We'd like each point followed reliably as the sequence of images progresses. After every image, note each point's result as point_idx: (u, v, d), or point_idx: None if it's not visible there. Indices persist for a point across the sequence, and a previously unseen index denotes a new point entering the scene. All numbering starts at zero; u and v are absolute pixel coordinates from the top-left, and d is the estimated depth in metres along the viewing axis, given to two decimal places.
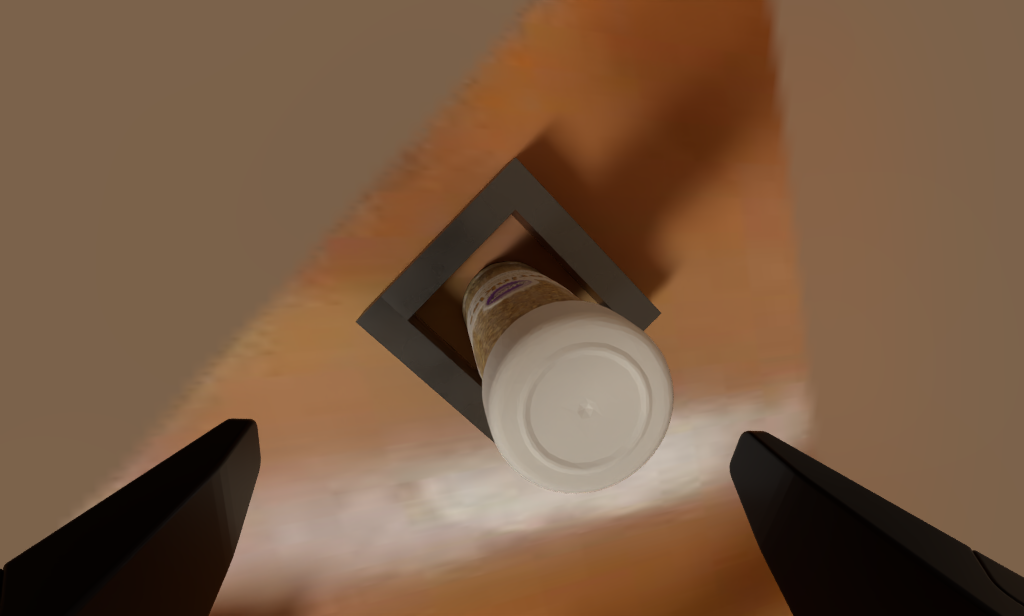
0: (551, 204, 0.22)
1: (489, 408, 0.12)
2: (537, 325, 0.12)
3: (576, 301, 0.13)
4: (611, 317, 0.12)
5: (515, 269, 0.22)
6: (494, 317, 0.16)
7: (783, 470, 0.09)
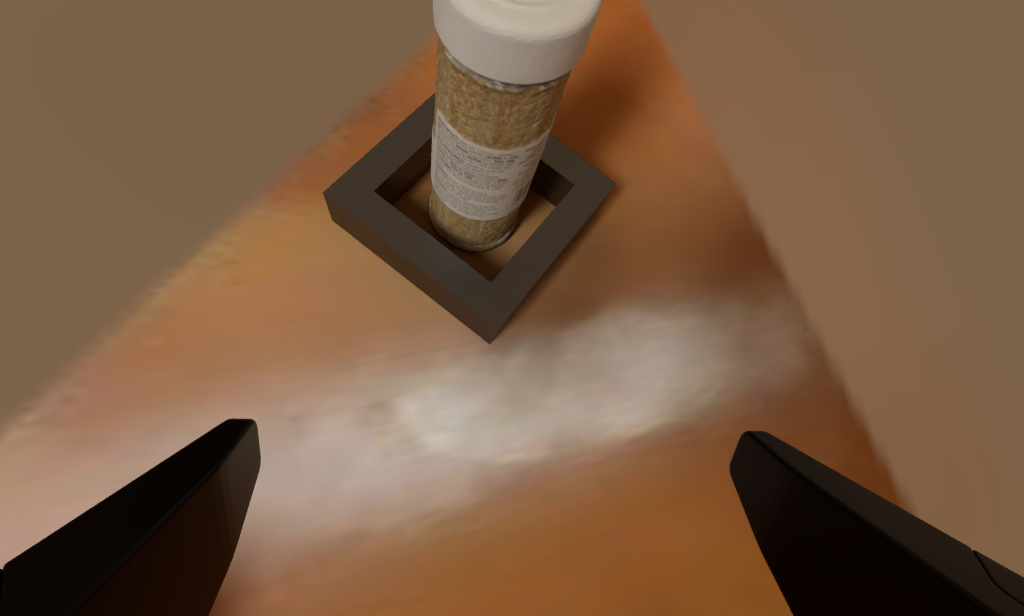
0: None
1: None
2: None
3: None
4: None
5: None
6: None
7: (783, 470, 0.09)
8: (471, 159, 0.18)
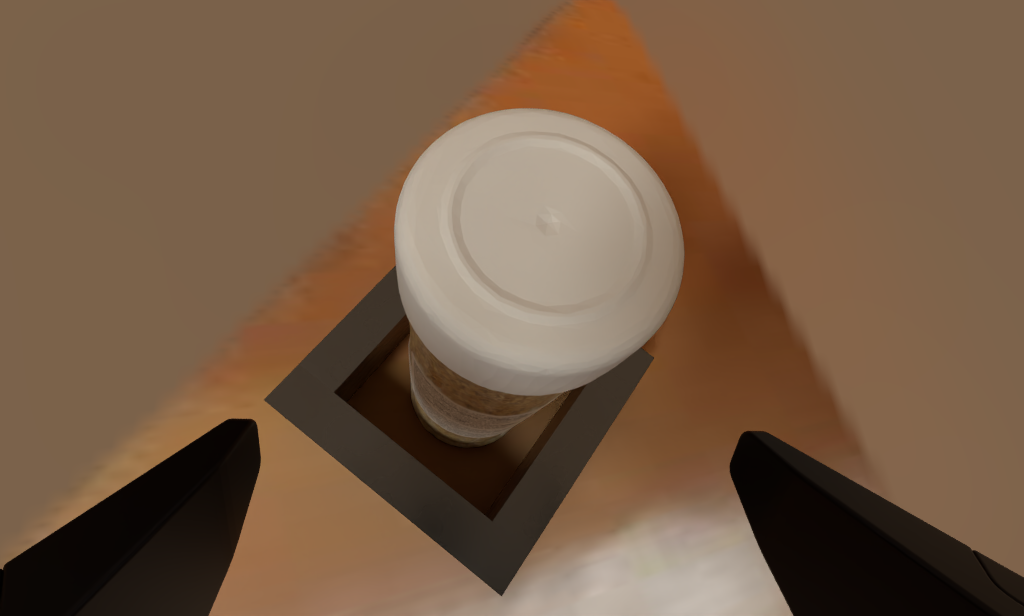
0: None
1: (396, 233, 0.07)
2: (458, 127, 0.08)
3: None
4: (559, 112, 0.08)
5: None
6: None
7: (783, 470, 0.09)
8: (463, 414, 0.12)
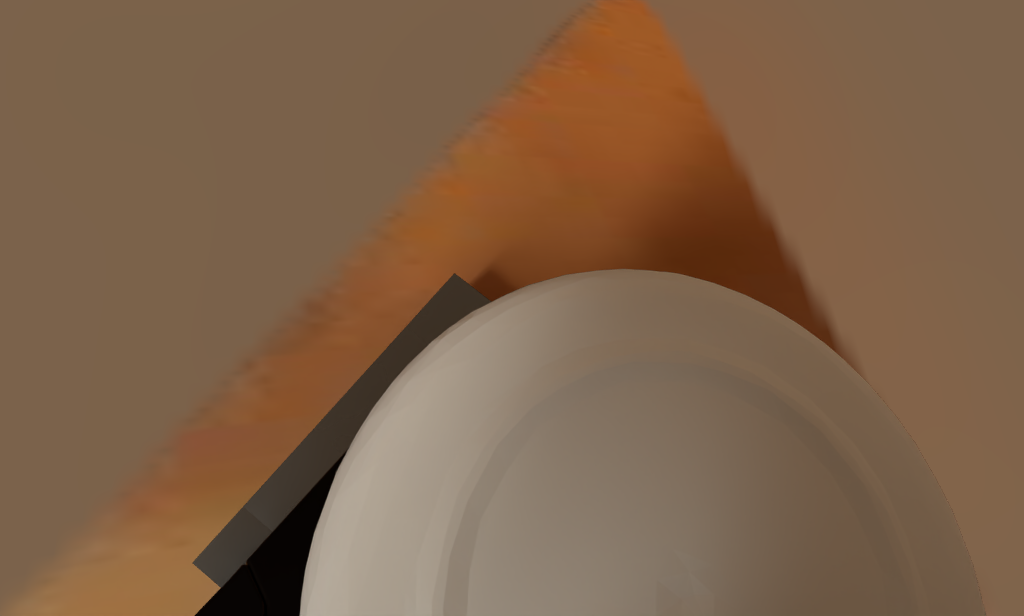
0: None
1: None
2: (461, 320, 0.04)
3: None
4: (677, 275, 0.04)
5: None
6: None
7: None
8: None
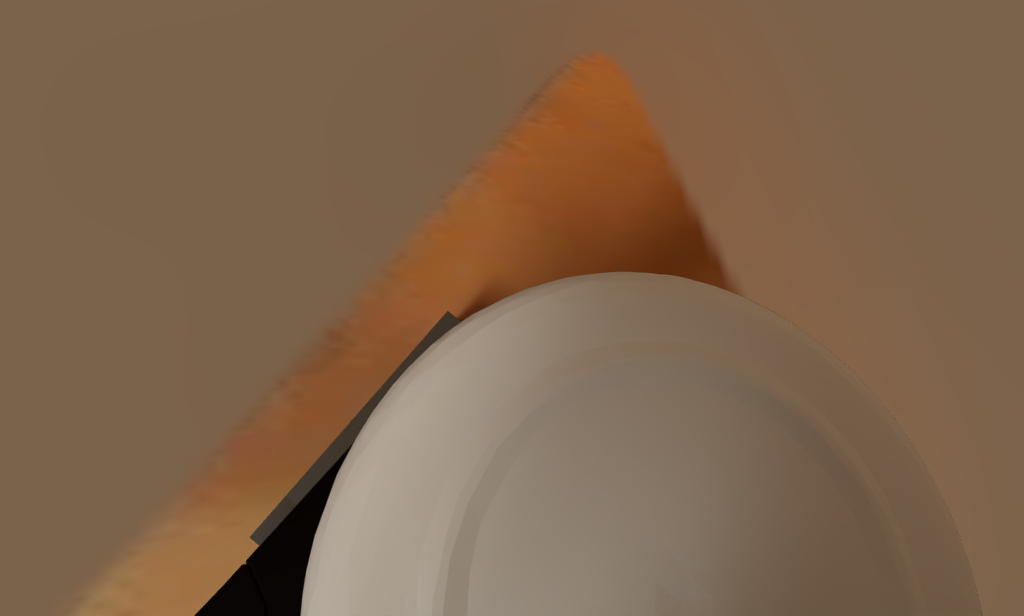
0: None
1: None
2: (461, 323, 0.04)
3: None
4: (677, 278, 0.04)
5: None
6: None
7: None
8: None
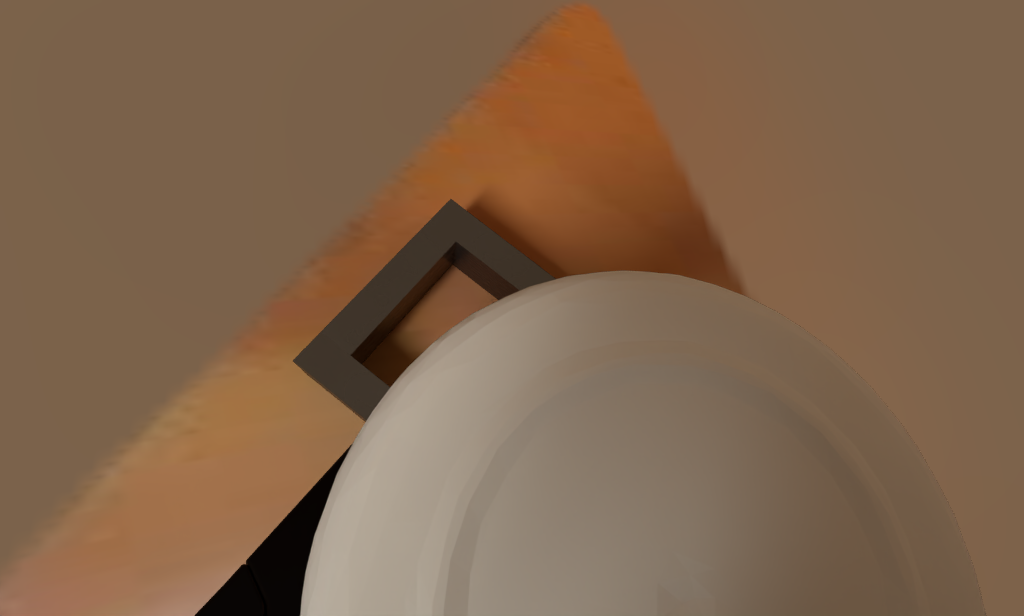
0: (490, 235, 0.23)
1: None
2: (462, 321, 0.04)
3: None
4: (679, 277, 0.04)
5: None
6: None
7: None
8: None
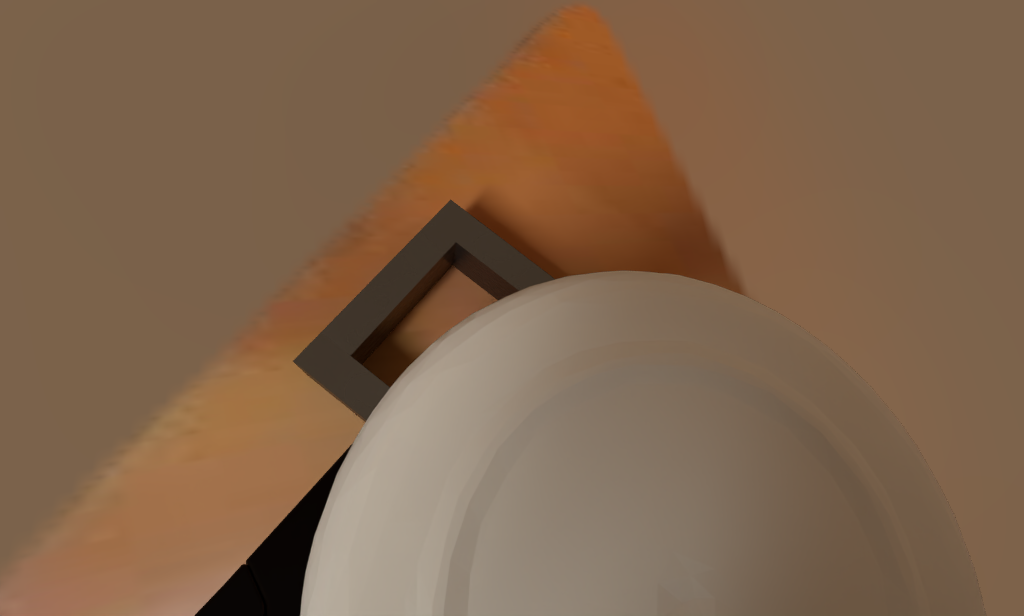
0: (490, 235, 0.23)
1: None
2: (462, 321, 0.04)
3: None
4: (679, 277, 0.04)
5: None
6: None
7: None
8: None
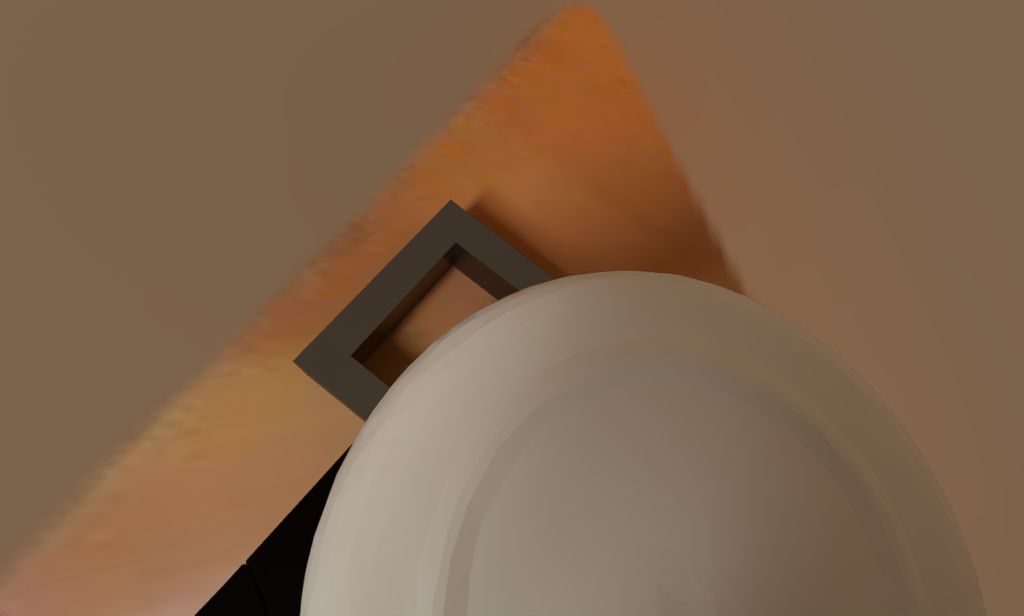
0: (490, 235, 0.23)
1: None
2: (462, 321, 0.04)
3: None
4: (679, 277, 0.04)
5: None
6: None
7: None
8: None
